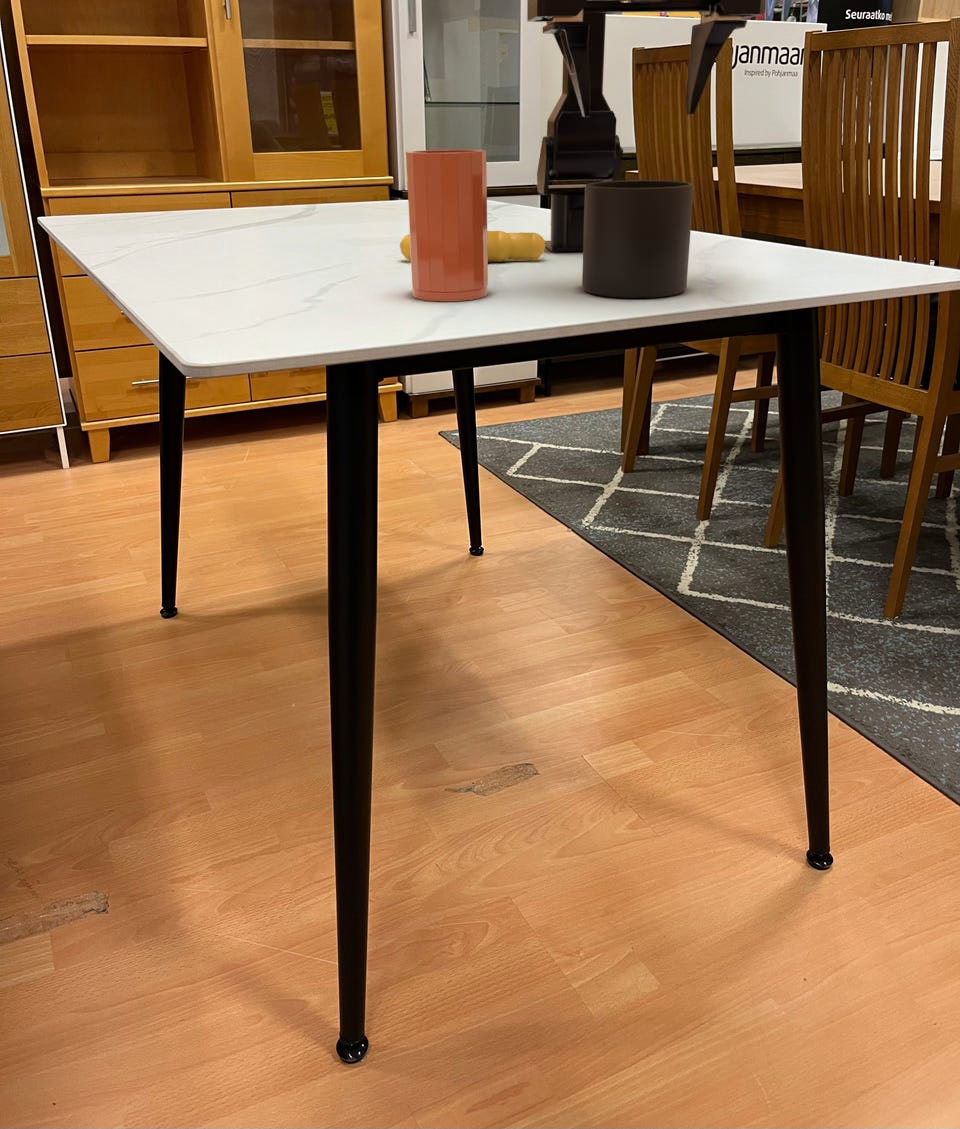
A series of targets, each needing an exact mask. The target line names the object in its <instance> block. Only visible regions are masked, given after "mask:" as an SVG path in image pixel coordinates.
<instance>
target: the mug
mask: <svg viewBox="0 0 960 1129" xmlns="http://www.w3.org/2000/svg"><path fill="white" fill-rule="evenodd" d="M586 184H587V185H586V186H585V203H584V238H583V250H582V276H581V277H582V278H581V286H582V288H583V290H584V291H586V292H587V293H590V294H593V295H596V296H600V297H606V298H618V299H655V298H664V297H671V296H674V295H677V294H681V293H683V292H684V291H685V290H686V288H687V284H688V283H687V282H688V271H689V269H688V268H689V260H690V259H689V257H690V245H691V243H690V242H691V229H692V217H693V205H694V203H693V202H694V192H695V185H694V183H691V182H688V181H680V180H660V179H659V180H658V179H657V180H656V179H655V180H653V179H646V180H645V179H643V180H642V179H639V180H637V179H631V180H629V179H628V180H618V181H605V182H602V181H595V182H590V183H586Z"/></svg>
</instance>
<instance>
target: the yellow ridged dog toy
mask: <svg viewBox="0 0 960 1129" xmlns="http://www.w3.org/2000/svg"><path fill="white" fill-rule="evenodd" d="M545 241H546V240H545V239H544V237H543V236H542V235H541V234H539V233H536V232H505V231H503V230H487V254H488V263H494V262H495V263H500V262H501V263H502V262H506V261H508V260H509V261H511V260H512V261H515V260H516V261H518V260H519V261H521V260H523V261H524V260H525V261H527V260H529V261H530V260H532V261H533V260H537V259H539V258H540V257H542V255H544V252H545V250H546V246H545ZM399 249H400V252H401V254H402V256H403V257H404V258H405V259H406V260H409V261H411V252H410V233H409V234H406V235H405V236H404V237H403V238H402V239H401V241H400V244H399Z"/></svg>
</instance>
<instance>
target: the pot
mask: <svg viewBox="0 0 960 1129" xmlns="http://www.w3.org/2000/svg"><path fill="white" fill-rule="evenodd" d="M405 160H406V161H405V162H406V163H405V164H406V182H407V183H406V185H407V205H408V207H407V208H408V226H409V227H408V228H409V230H408V231H409V234H410V252H411V260H410V273H411V286H412V287H411V288H412V297H413V298H415V299H416V300H421V301H429V302H464V301H465V302H466V301H472V300H478V299H482V298H484V297H486V296H488V285H489V275H488V274H489V269H488V267H489V266H488V265H489V264H488V263H489V262H488V254H487V231H488V187H487V186H488V184H487V182H488V181H487V180H488V179H487V173H488V172H487V150H484V149H462V148H461V149H460V148H459V149H423V150H410V151H406V152H405Z"/></svg>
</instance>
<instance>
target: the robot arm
mask: <svg viewBox="0 0 960 1129" xmlns="http://www.w3.org/2000/svg"><path fill="white" fill-rule="evenodd" d="M765 4H766V0H527V6H526V9H527V13H526V14H527V16H526V19H527V20H526V21H527V22H528V23H529V22H530V23H546V24H545V25H543V26H542V34H544V35H545V34H549V35H553V37H554V39H555V42H556V45H557V46H558V48H559V51H560V53H561V55H562V86H561V87H562V89H561V95H560V97H559V99H558V100H557V102H556V103H555V106H554V108H553V109H552V111H551V113H550V114H549V117H548V118H547V125H546V135H545V136H543V137H542V140H541V147H540V153H539V159H538V166H537V170H536V185H537V193H539V194H541V195H543V196H548V195H550V240H544V241H545V248H547V249H548V250H550V251H551V252H574V251H575V252H577V251H579V252H580V251H583V238H584V203H585V186H586V185H587V184H588V183H586V184H553V185H552V184H551V185H550V182H572V181H575V182H576V181H601V182H605V181H619V175H620V171H621V165H622V160H623V156H624V149H623V147H622V146H621V142H620V141H621V140H620V137H619V135H618V134H617V117H616V114H615V112H614V110H611V108H610V106H609V103H608V101H607V100H606V97H605V95H604V71H605V70H604V67H605V66H604V65H605V46H606V45H605V44H606V22H607V21H606V17H607V16H606V15H607V13H608V14H610V13H612V14H613V13H619V14H620V13H698V14H699V15H700V20H699V21H700V22H699V23H698V24H697V23H696V24H694V25H692V26H691V34H690V35H691V37H690V47H689V59H688V70H687V81H686V90H685V91H686V92H685V102H686V103H685V109H686V110H685V112H686V115H687V116H694V115H695V113H696V111H697V109H698V106H699V103H700V101H701V98H702V96H703V93H704V90H705V88H706V85H707V83H708V80H709V77H710V75H711V73H712V69H713V67H714V65H715V62H716V61H717V59H718V56H719V55H720V53H721V51H722V48H723V47H724V45H725V43H726V42H727V40H728V39H729V38H730V36H731V35H732V33H733V32H734V31H735V30H741V29H745V28H746V26H747V23H748V19H750V18H754V17H760V16H763V15H764V13H765Z"/></svg>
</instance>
